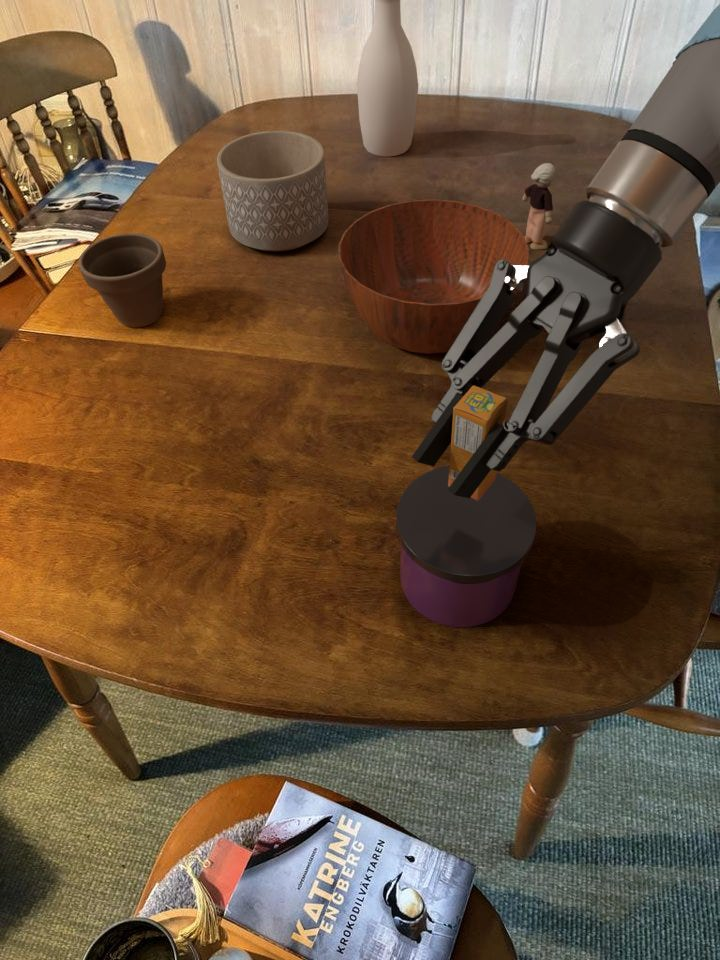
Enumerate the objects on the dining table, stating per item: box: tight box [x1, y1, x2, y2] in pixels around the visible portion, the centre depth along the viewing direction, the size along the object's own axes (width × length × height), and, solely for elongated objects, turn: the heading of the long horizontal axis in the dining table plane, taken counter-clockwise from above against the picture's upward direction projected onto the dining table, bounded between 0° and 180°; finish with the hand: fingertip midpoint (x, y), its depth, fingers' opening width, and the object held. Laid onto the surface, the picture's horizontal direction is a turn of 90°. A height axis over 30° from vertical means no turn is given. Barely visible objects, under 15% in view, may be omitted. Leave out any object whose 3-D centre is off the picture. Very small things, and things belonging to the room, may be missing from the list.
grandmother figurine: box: [522, 162, 556, 251], centre depth 110 cm, size 8×4×13 cm, turn 34°
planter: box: [216, 130, 330, 252], centre depth 115 cm, size 16×16×13 cm
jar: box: [395, 465, 538, 628], centre depth 71 cm, size 13×13×10 cm
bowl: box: [337, 198, 530, 355], centre depth 99 cm, size 25×25×11 cm
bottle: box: [356, 0, 419, 158], centre depth 128 cm, size 11×11×25 cm
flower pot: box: [78, 232, 167, 328], centre depth 101 cm, size 12×11×10 cm
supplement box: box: [448, 386, 508, 501], centre depth 60 cm, size 3×3×10 cm
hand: (440, 477), depth 59 cm, fingers closed on supplement box, 4 cm apart
